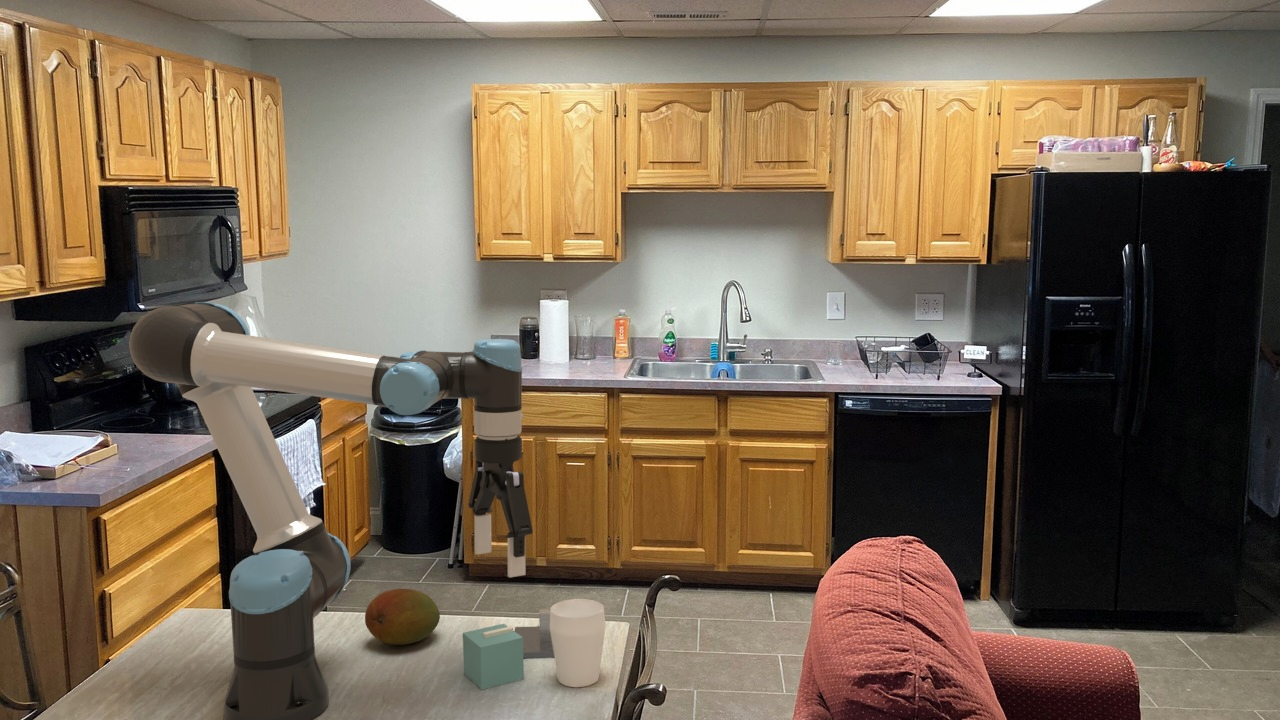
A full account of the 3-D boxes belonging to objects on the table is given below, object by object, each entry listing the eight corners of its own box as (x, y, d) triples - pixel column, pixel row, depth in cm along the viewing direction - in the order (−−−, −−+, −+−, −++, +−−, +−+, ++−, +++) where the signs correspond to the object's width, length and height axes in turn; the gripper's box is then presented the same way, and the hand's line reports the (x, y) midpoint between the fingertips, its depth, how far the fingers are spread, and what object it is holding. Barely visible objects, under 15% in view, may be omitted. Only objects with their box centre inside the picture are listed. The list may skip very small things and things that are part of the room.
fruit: (355, 647, 179) (353, 593, 178) (404, 624, 190) (402, 573, 189) (405, 660, 173) (403, 604, 172) (452, 635, 184) (451, 582, 183)
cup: (598, 693, 160) (597, 619, 158) (543, 688, 161) (542, 616, 160) (611, 669, 168) (610, 600, 167) (559, 665, 170) (558, 597, 169)
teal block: (481, 689, 161) (480, 643, 160) (463, 673, 167) (462, 629, 167) (523, 678, 165) (522, 634, 164) (504, 663, 171) (503, 620, 171)
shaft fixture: (509, 658, 173) (508, 624, 173) (515, 632, 185) (514, 600, 185) (579, 656, 174) (579, 623, 173) (581, 630, 186) (580, 599, 185)
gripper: (554, 446, 154) (554, 581, 156) (489, 421, 175) (490, 541, 177) (508, 451, 150) (509, 590, 152) (448, 425, 171) (449, 547, 173)
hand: (499, 564), depth 165 cm, fingers open, 13 cm apart
